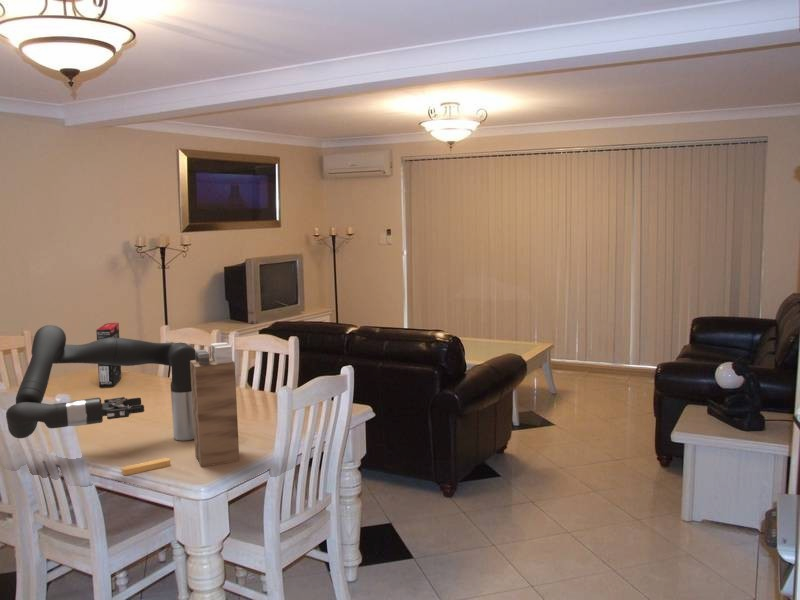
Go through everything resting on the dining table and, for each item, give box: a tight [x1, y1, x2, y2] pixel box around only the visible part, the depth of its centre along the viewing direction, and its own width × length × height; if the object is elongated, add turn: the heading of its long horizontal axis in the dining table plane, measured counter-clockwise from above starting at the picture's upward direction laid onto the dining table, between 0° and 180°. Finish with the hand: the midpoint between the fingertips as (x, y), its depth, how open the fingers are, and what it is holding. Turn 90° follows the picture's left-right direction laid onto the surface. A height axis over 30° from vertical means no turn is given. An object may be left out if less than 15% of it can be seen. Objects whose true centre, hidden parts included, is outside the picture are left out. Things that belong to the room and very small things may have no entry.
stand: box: [190, 342, 240, 468], centre depth 223 cm, size 10×12×37 cm
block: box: [120, 457, 172, 477], centre depth 217 cm, size 3×14×2 cm, turn 124°
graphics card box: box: [95, 322, 122, 388], centre depth 322 cm, size 17×7×27 cm, turn 10°
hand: (142, 404), depth 213 cm, fingers open, 8 cm apart
